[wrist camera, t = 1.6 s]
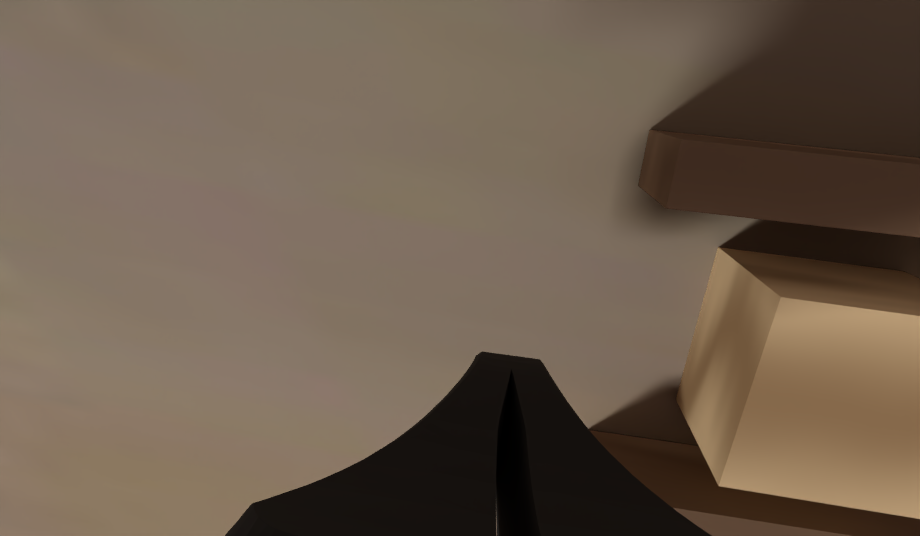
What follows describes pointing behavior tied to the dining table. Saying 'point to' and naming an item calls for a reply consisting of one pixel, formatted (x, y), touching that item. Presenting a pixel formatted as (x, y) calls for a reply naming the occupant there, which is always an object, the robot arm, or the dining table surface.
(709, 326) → the oak block
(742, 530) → the walnut channel
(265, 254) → the dining table surface
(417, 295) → the dining table surface
